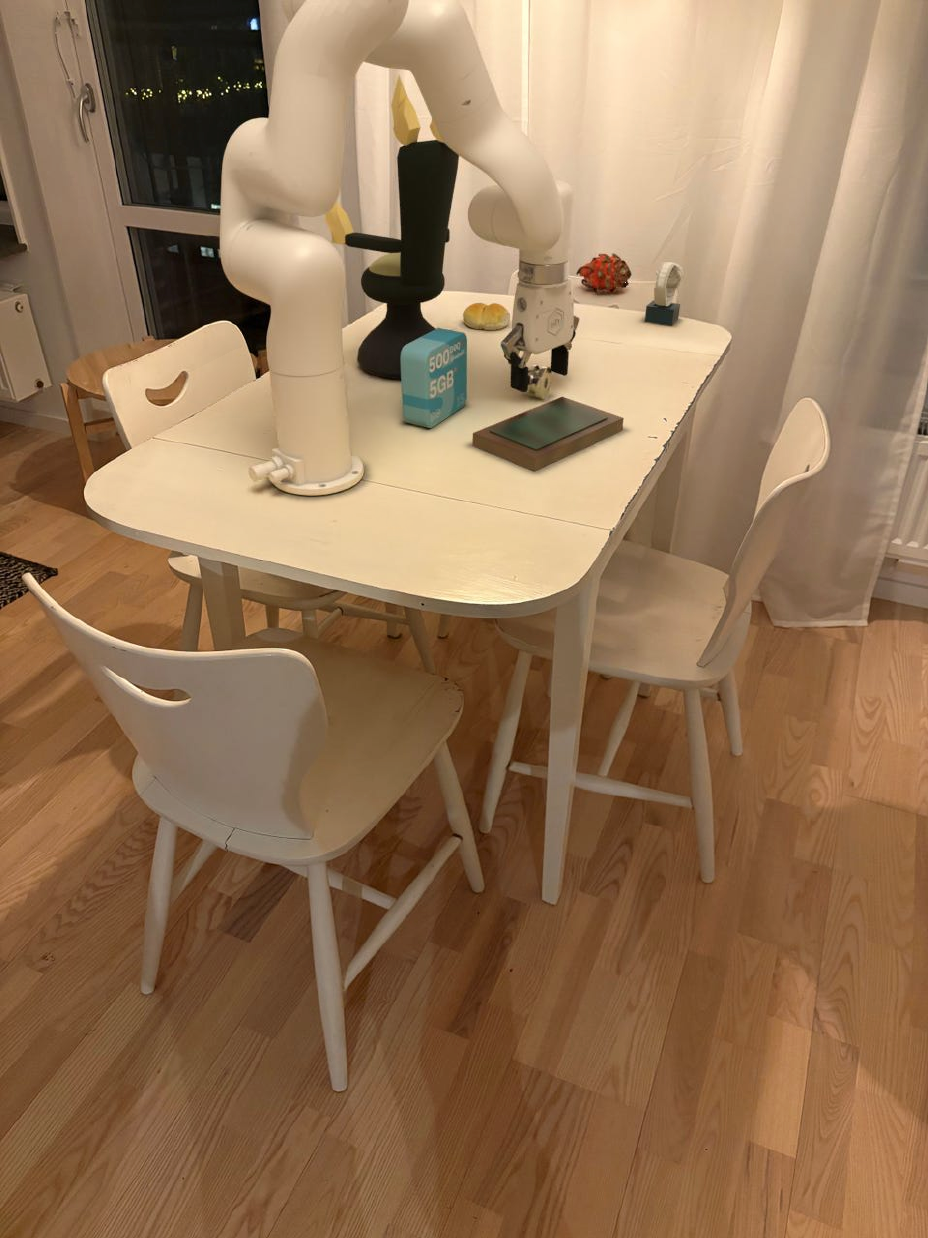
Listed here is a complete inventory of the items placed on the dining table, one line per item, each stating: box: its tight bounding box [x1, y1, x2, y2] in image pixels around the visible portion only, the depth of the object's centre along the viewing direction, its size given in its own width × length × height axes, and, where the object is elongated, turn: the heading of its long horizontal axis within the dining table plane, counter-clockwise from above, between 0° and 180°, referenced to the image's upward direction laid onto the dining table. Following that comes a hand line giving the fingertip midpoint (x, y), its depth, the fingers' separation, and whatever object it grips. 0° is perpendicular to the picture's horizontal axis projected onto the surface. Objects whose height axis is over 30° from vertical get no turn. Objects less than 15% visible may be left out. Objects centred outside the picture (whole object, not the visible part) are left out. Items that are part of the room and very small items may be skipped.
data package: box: [400, 327, 468, 429], centre depth 139 cm, size 12×4×12 cm, turn 150°
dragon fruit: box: [576, 252, 633, 295], centre depth 197 cm, size 8×8×12 cm
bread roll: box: [462, 302, 511, 331], centre depth 178 cm, size 8×9×4 cm
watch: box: [644, 261, 685, 327], centre depth 179 cm, size 6×8×11 cm
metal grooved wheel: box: [525, 364, 553, 400], centre depth 147 cm, size 5×3×5 cm, turn 155°
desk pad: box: [472, 396, 624, 472], centre depth 135 cm, size 20×12×2 cm, turn 135°
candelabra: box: [324, 74, 460, 380], centre depth 147 cm, size 19×22×45 cm
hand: (539, 381), depth 148 cm, fingers open, 9 cm apart
